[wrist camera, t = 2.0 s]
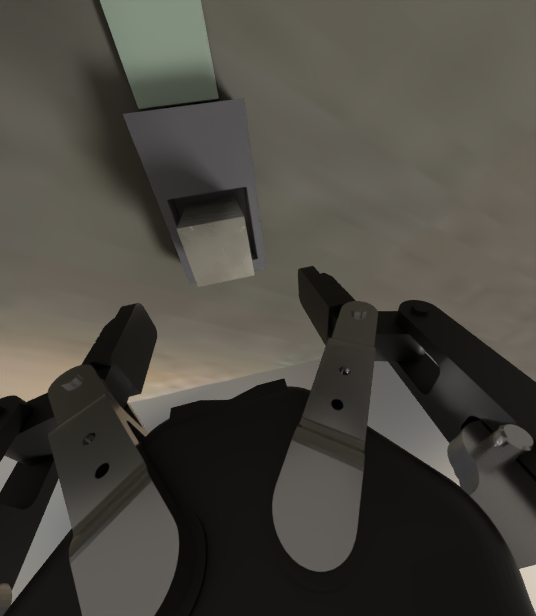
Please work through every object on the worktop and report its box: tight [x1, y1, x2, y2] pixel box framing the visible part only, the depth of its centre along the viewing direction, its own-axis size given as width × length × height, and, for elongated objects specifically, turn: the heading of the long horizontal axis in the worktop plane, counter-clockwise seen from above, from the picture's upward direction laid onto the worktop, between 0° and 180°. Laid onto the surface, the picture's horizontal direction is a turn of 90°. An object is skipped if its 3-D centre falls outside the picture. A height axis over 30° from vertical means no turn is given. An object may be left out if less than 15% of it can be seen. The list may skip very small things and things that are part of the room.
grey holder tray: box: [123, 98, 266, 284], centre depth 20 cm, size 13×8×4 cm, turn 6°
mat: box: [100, 0, 219, 110], centre depth 15 cm, size 6×6×1 cm
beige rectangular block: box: [176, 196, 254, 287], centre depth 19 cm, size 4×4×8 cm
